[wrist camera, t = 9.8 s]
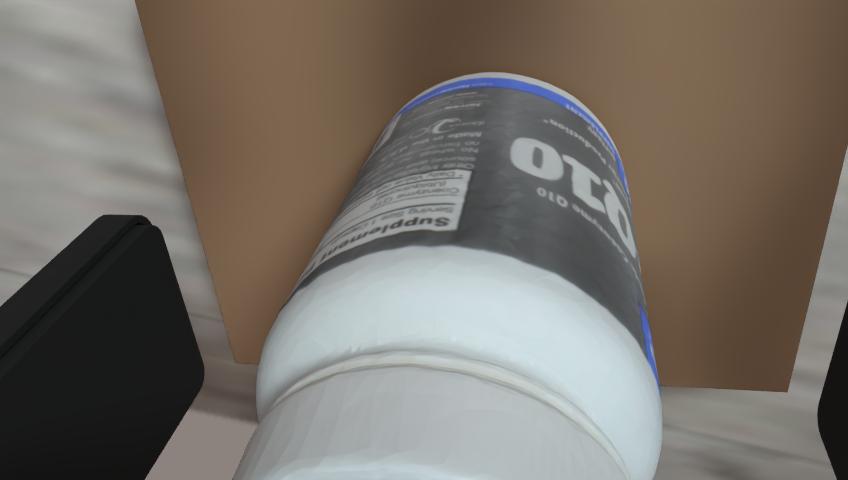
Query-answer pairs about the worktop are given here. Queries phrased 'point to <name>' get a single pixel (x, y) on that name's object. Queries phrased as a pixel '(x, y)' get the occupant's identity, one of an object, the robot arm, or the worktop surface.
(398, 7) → the walnut block
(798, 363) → the worktop surface
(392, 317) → the pill bottle
